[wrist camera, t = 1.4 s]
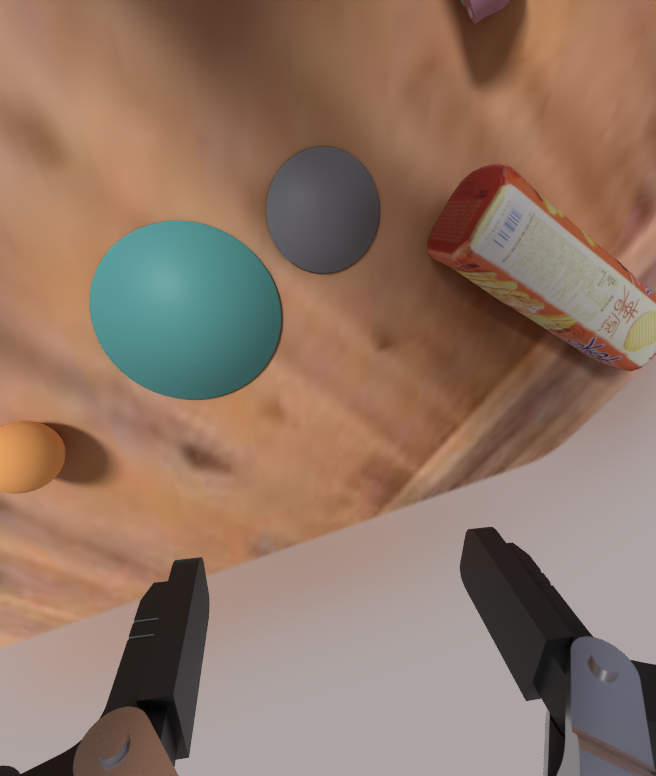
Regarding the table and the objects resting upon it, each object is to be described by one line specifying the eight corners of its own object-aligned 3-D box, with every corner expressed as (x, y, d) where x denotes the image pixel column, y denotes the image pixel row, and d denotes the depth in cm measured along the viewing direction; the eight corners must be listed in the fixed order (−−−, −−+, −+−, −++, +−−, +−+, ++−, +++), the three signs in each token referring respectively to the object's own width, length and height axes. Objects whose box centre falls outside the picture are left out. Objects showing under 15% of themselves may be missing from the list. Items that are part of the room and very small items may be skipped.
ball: (-17, 435, 29) (-62, 478, 25) (33, 396, 29) (-4, 431, 24) (43, 475, 31) (12, 521, 27) (90, 439, 31) (67, 479, 27)
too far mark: (241, 197, 26) (241, 197, 26) (339, 118, 25) (339, 118, 25) (311, 294, 30) (311, 295, 30) (398, 228, 29) (399, 228, 29)
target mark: (45, 301, 26) (44, 302, 26) (196, 176, 25) (196, 176, 25) (186, 427, 32) (186, 429, 32) (314, 331, 31) (314, 332, 31)
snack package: (628, 297, 36) (705, 317, 30) (580, 359, 38) (644, 388, 32) (461, 162, 28) (522, 152, 22) (410, 248, 30) (454, 260, 24)
